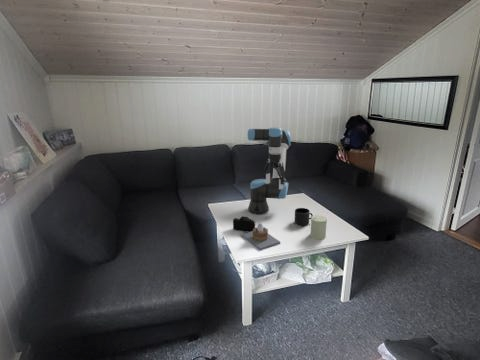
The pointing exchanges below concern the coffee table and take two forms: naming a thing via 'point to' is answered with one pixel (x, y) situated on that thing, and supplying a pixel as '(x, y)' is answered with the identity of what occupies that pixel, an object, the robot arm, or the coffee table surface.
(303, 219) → the mug
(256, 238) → the collar
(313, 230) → the can
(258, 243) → the post board
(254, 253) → the coffee table surface
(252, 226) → the film camera
